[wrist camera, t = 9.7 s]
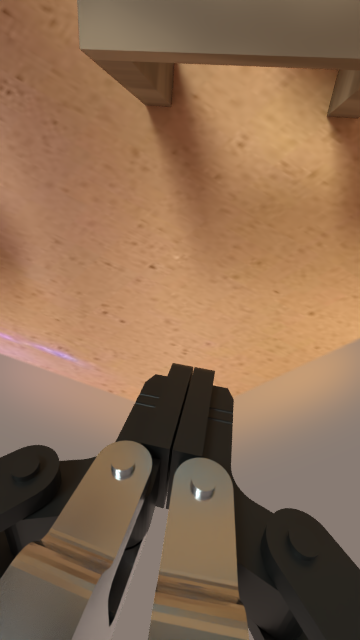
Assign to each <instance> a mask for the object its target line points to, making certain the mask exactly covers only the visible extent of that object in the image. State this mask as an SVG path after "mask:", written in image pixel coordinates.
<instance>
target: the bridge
mask: <svg viewBox="0 0 360 640" xmlns="http://www.w3.org/2000/svg"><path fill="white" fill-rule="evenodd" d="M77 4H78V24H79V44H80V50H81V51H83V52H84V53H85V54H86V55H87V56H88V57H90V58H91V59H92V60H93V61H94V62H96V63H97V64H98V65H99V66H100V67H101V68H103V69H104V70H105V71H106V72H107V73H108V74H110V75H111V76H112V77H113V78H114V79H115V80H117V81H118V82H119V83H120V84H121V85H122V86H124V87H125V88H126V89H127V90H128V91H129V92H131V93H132V94H133V95H134V96H135V97H136V98H138V99H139V100H140V101H141V102H142V103H144V104H145V105H151V106H168V107H171V104H172V88H173V72H174V63H186V64H211V65H236V66H261V67H286V68H311V69H336V70H339V71H338V75H337V79H336V83H335V87H334V91H333V94H332V98H331V102H330V106H329V110H328V114H327V116H329V117H346V118H359V117H360V0H77Z"/></svg>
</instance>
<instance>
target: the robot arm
mask: <svg viewBox="0 0 360 640" xmlns="http://www.w3.org/2000/svg"><path fill="white" fill-rule="evenodd" d="M192 374H193V375H192ZM214 374H215V371H212V370H207V369H202V368H197V367H195V368H194V371H193V367H191V366H186V365H180V364H175V363H173V364H172V366H171V369H170V371H169V374H168V376H162V375H157V374H155V375H154V376H153V377H152V378H150V379H149V380H148V381H146V382H145V384H144V386H143V388H142V390H141V392H140V395H139V396H138V398H137V400H136V403H135V404H134V406H133V408H132V410H131V412H130V414H129V416H128V418H127V420H126V422H125V424H124V426H123V428H122V430H121V432H120V434H119V436H118V438H117V440H116V442H115V443H112V444H110V445H108V446H107V447H105V448H104V449H103V450H102V451H101V452H100V453H99V454H98V456H96V457H93V458H89V459H84V460H68V461H59V458H58V456H57V454H56V452H55V451H54V450H53V449H51V448H49V447H47V446H42V445H33V446H27V447H24V448H21V449H19V450H16V451H14V452H12V453H10V454H7V455H5V456H3V457H1V458H0V640H112V637H113V634H114V630H115V627H116V624H117V621H118V618H119V615H120V612H121V610H122V607H123V603H124V601H125V598H126V595H127V592H128V589H129V586H130V583H131V581H132V578H133V575H134V572H135V569H136V566H137V563H138V560H139V558H140V555H141V552H142V549H143V546H144V543H145V540H146V537H147V532H148V529H149V527H150V523H151V520H152V516H153V512H154V508H155V506H157V507H161V508H164V504H165V500H166V496H167V504H166V509H169V512H168V519H167V525H166V531H165V538H164V544H163V551H162V558H161V564H160V570H159V576H158V582H157V587H156V592H155V598H154V604H153V610H152V617H151V623H150V629H149V637H148V640H249V636H248V628H249V630H250V632H251V634H252V636H253V638H254V640H360V569H359V568H358V567H357V566H356V564H355V563H354V562H353V561H352V560H351V559H350V557H349V556H348V555H347V554H346V553H345V552H344V551H343V549H342V548H341V547H340V546H339V544H338V543H337V542H336V541H335V540H334V539H333V537H332V536H331V535H330V534H329V533H328V531H327V530H326V529H325V528H324V527H323V526H322V525H321V524H320V523H319V522H318V521H317V520H316V519H314V518H313V517H311V516H310V515H308V514H306V513H305V512H302V511H300V510H297V509H291V508H290V509H289V508H285V509H281V510H278V511H276V512H275V513H272V512H270V511H269V510H267V509H265V508H264V507H262V506H260V505H258V504H257V503H255V502H254V501H252V500H251V499H249V498H248V497H247V496H246V495H244V493H243V492H242V491H241V490H240V489H239V487H238V486H237V485H236V483H235V481H234V479H233V476H232V473H231V449H232V423H233V402H234V401H233V398H232V396H231V394H230V392H229V390H228V388H223V387H218V386H213V381H214ZM167 492H168V495H167Z"/></svg>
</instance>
